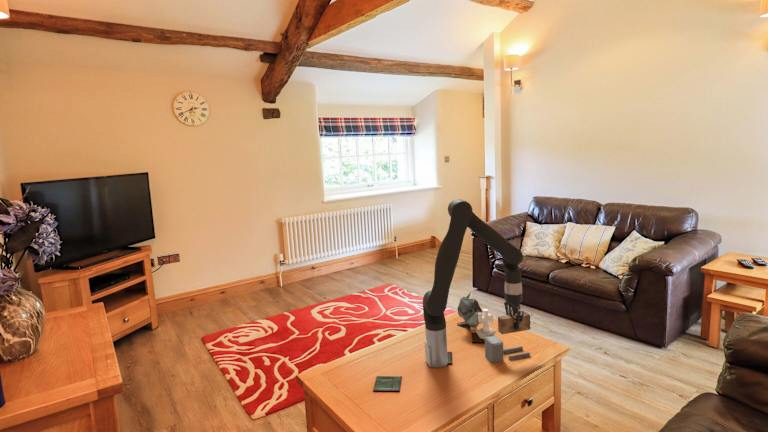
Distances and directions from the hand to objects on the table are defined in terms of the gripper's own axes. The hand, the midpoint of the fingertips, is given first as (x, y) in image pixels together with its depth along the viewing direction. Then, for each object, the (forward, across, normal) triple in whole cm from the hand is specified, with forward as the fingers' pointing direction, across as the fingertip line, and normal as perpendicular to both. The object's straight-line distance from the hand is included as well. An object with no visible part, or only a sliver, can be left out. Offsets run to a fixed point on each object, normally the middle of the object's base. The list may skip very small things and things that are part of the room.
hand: (514, 327), depth 193 cm
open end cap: (+13, 0, 0) cm, 13 cm away
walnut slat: (+1, 0, 0) cm, 1 cm away
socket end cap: (+13, 0, -10) cm, 17 cm away
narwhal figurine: (+13, -32, -8) cm, 35 cm away
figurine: (+13, -20, -4) cm, 24 cm away
